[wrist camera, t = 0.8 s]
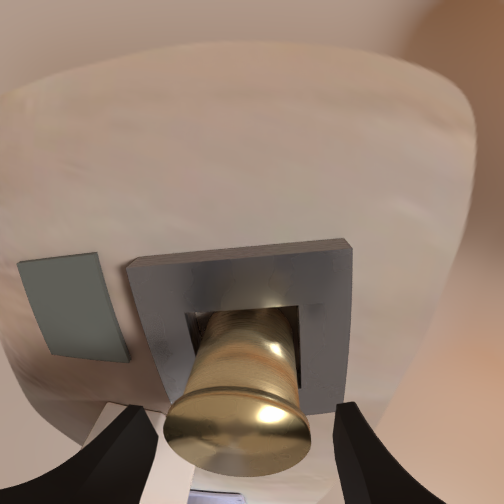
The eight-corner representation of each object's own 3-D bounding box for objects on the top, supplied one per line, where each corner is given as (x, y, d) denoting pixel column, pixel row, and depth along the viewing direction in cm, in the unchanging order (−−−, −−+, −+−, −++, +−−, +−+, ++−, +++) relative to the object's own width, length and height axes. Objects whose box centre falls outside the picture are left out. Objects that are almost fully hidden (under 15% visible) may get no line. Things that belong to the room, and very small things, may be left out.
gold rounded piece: (299, 370, 16) (309, 474, 9) (210, 374, 16) (185, 473, 10) (295, 290, 14) (312, 394, 8) (191, 297, 15) (142, 395, 8)
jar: (81, 407, 19) (20, 512, 8) (143, 390, 17) (76, 540, 6) (149, 466, 21) (116, 565, 10) (218, 458, 19) (196, 584, 8)
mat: (131, 359, 16) (129, 363, 16) (54, 351, 17) (51, 354, 17) (96, 252, 14) (93, 254, 14) (20, 261, 15) (16, 263, 14)
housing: (338, 393, 16) (342, 410, 15) (182, 400, 17) (176, 416, 16) (343, 238, 13) (352, 248, 12) (138, 256, 14) (125, 267, 13)
